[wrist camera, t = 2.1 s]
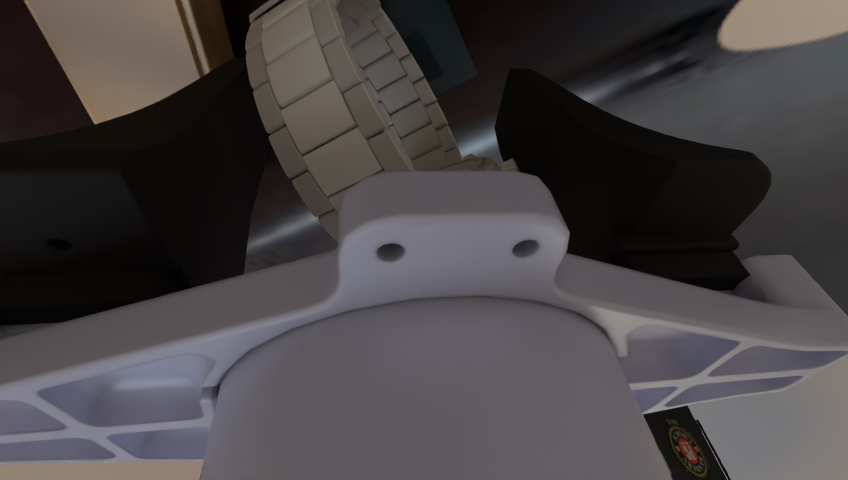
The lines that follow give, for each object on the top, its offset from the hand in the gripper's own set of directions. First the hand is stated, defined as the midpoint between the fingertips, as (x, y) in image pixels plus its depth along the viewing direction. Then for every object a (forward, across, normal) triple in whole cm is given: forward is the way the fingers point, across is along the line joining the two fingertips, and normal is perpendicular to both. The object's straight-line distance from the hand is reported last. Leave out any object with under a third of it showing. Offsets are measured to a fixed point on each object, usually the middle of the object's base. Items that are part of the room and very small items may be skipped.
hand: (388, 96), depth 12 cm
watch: (+6, 0, 0) cm, 6 cm away
